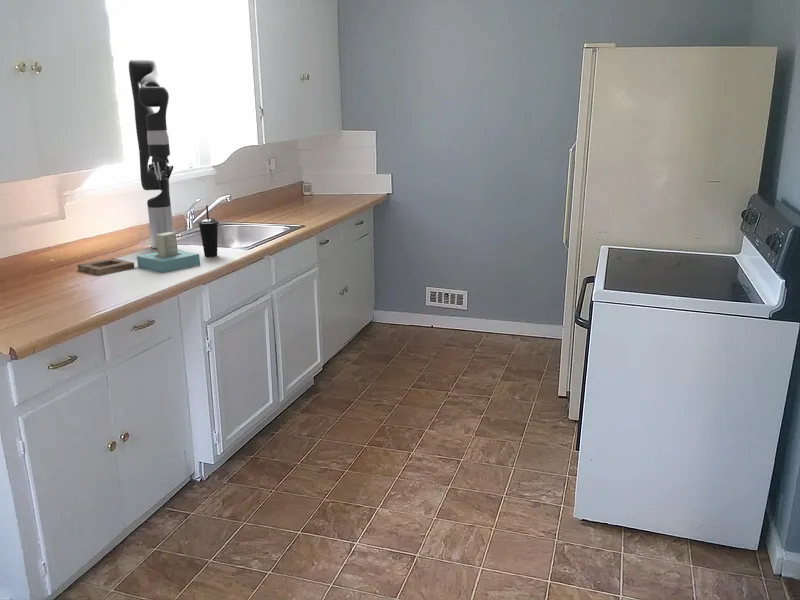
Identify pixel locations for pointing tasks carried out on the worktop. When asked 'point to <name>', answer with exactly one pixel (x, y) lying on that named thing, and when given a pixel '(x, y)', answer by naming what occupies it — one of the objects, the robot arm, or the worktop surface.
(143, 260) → the socket block
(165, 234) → the skincare box
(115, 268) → the frame
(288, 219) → the worktop surface
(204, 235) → the drinking cup
